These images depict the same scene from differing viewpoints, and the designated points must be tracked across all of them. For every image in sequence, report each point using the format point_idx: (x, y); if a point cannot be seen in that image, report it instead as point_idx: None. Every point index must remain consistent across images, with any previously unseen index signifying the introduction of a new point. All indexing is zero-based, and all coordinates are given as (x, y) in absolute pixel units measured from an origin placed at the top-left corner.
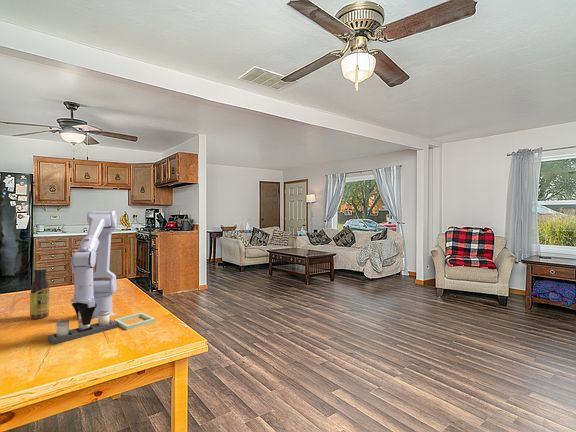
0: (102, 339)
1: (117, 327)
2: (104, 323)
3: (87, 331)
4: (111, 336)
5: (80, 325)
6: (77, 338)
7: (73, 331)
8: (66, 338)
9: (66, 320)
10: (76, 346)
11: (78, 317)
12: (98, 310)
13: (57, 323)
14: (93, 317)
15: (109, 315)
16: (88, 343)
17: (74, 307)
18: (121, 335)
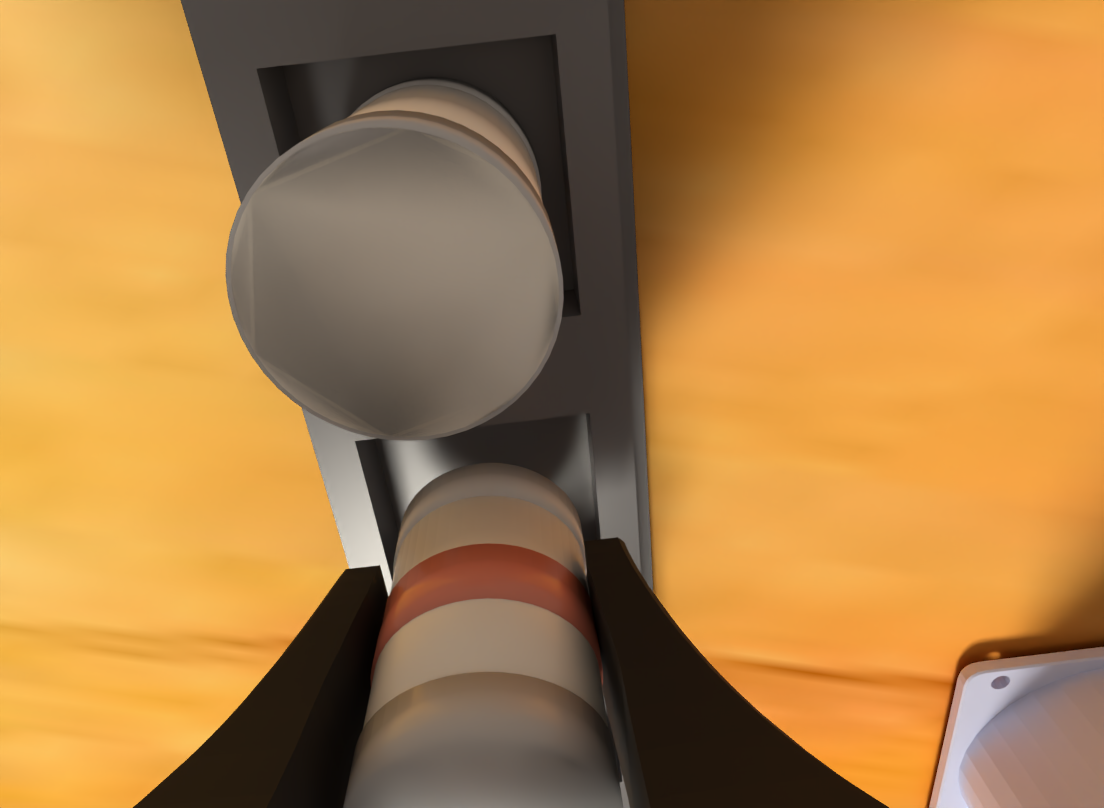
0: (134, 598)
1: None
2: None
3: (341, 537)
4: (190, 684)
5: (424, 527)
6: None
7: None
8: None
9: (413, 386)
10: (15, 299)
11: (489, 620)
12: (1079, 802)
13: (303, 141)
14: (1075, 667)
15: (960, 796)
16: (65, 448)
17: (690, 795)
18: (159, 758)
